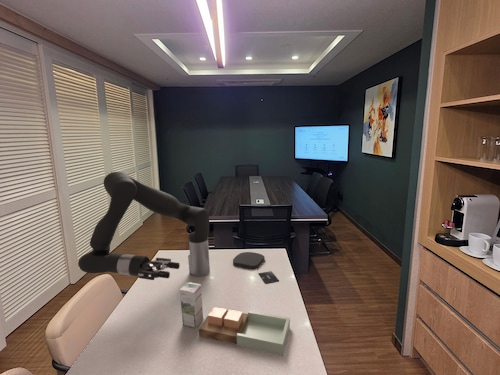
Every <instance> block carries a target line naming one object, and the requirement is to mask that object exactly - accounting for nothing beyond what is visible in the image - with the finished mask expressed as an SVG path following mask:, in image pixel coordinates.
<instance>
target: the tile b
mask: <svg viewBox="0 0 500 375" xmlns="http://www.w3.org/2000/svg"><path fill="white" fill-rule="evenodd" d="M242 320H243V311H238V310H232V309H228V313H227V314H226V316H225V318H224V326H225V327H230V328H235V329H238V328H239V326H240V324H241V322H242Z"/></svg>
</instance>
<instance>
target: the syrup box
mask: <svg viewBox="0 0 500 375" xmlns="http://www.w3.org/2000/svg"><path fill="white" fill-rule="evenodd" d="M202 291H203V290H202V284H200V283H196V282H190V281H187V282H186V283H185V284H183V286H182V287H180V289H179V296H180V308H181V318H182V319H181V320H182V326H184V327H189V328H194V329H197V328H199V325H200V324H202V321H203V320H204V312H203V311H204V309H203V298H202V297H203V296H202V294H203V293H202Z"/></svg>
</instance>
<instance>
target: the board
mask: <svg viewBox="0 0 500 375" xmlns="http://www.w3.org/2000/svg"><path fill="white" fill-rule="evenodd" d="M228 311H229V309H227V313H228ZM203 320H204V321H203V322H201V323H200V324H201V325H200V326H198V337H199V338H205V339H209V340H213V341H217V342H218V341H220V342H223V343H227V344H228V343H229V344H232V345H236V346H237V333H240V334H242V333H243V331H244V329H245V327H246V325H247V323H248V313H243V320H242V322H241V324H240V326H239V328H238V329H235V328H230V327H225V326H224V323H223V324H222V326H220V325H215V324H210V323H208V315H207V316H206V317H205V319H203Z"/></svg>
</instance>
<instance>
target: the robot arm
mask: <svg viewBox="0 0 500 375" xmlns="http://www.w3.org/2000/svg"><path fill="white" fill-rule="evenodd" d="M103 187H104V190H105V191H106V193H107V194H108V195H109V197H110V203H109V207H108V209H107V212H106V213H105V214H104V216H102V218H101V219H100V220H99V221H98V222H97V224H96V225H95V228H94V230H93V232H92V234H91V237H90V241H89V246H90V248H91V249H92V250H91V251H89V252H87V253H85V254H84V255H82V256H81V257H80V258H79V259H78V264H77V265H78V268H79V269H80V270H81V271H82V272H84V273H85V274H86V273H88V274H103V273H112V274H121V275H124V276H130V277H132V276H133V277H138V278H139V279H143V280H149V281H154V280H155V279H159V278H162V279H169V278H170V276H171V275H170V274H171V273H170V271H168V270H165V269H172V270H179V269H180V267H181V266H180V262H173V261H172V258H165V257H156V258H155V260H150V258H149V257H148V256H146V255H139V254H127V253H126V254H125V253H117V252H114V253H113V252H112V253H110V252H111V251H110V249H111V243H112V242H113V239H114V237H115V234H116V231H117V229H118V227H119V225H120V223H121V221H122V219H123V217H124V215H125V214H126V212H127V211H128V209H129V207H130V205H131V204H132V203H133V201H135V202H137V203H138V204H140V205H141V206H143V207H144V208H146V209H147V210H149V211H151V212H154V213H156V214H159V215H161V216H165V217H168V218H174V219H177V220H179V221H181V222H183V223H185V224H187V225H188V226H192V227H194V231H193V232H190V233H189V235H188V246H189V254H188V256H187V257H188V258H187V259H188V271H189V272H188V274H190V275H192V276H194V277H204V276H206V275H208V274H210V272H211V271H210V269H211V268H210V254H209V253H210V252H209V249H210V248H209V233H210V215H209V211H208V210H207V209H206V208H205V207H204V208H203V207H197V206H191V205H188V204H184V203H182V202H180V201H179V199H178V198H176V197H175V196H174V195H171V194H170V193H167V192H165V191H162V190H160V189H158V188H155V187H154V186H153V187H152V186H150V185H147V184H144V183H142V182H140V181H139V180H137V179H135V178H133V177H132V176H130V175H128V174H126V173H125V172H122V171H113V172H110V173H108V174H107V175H105V177H104V178H103Z"/></svg>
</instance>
